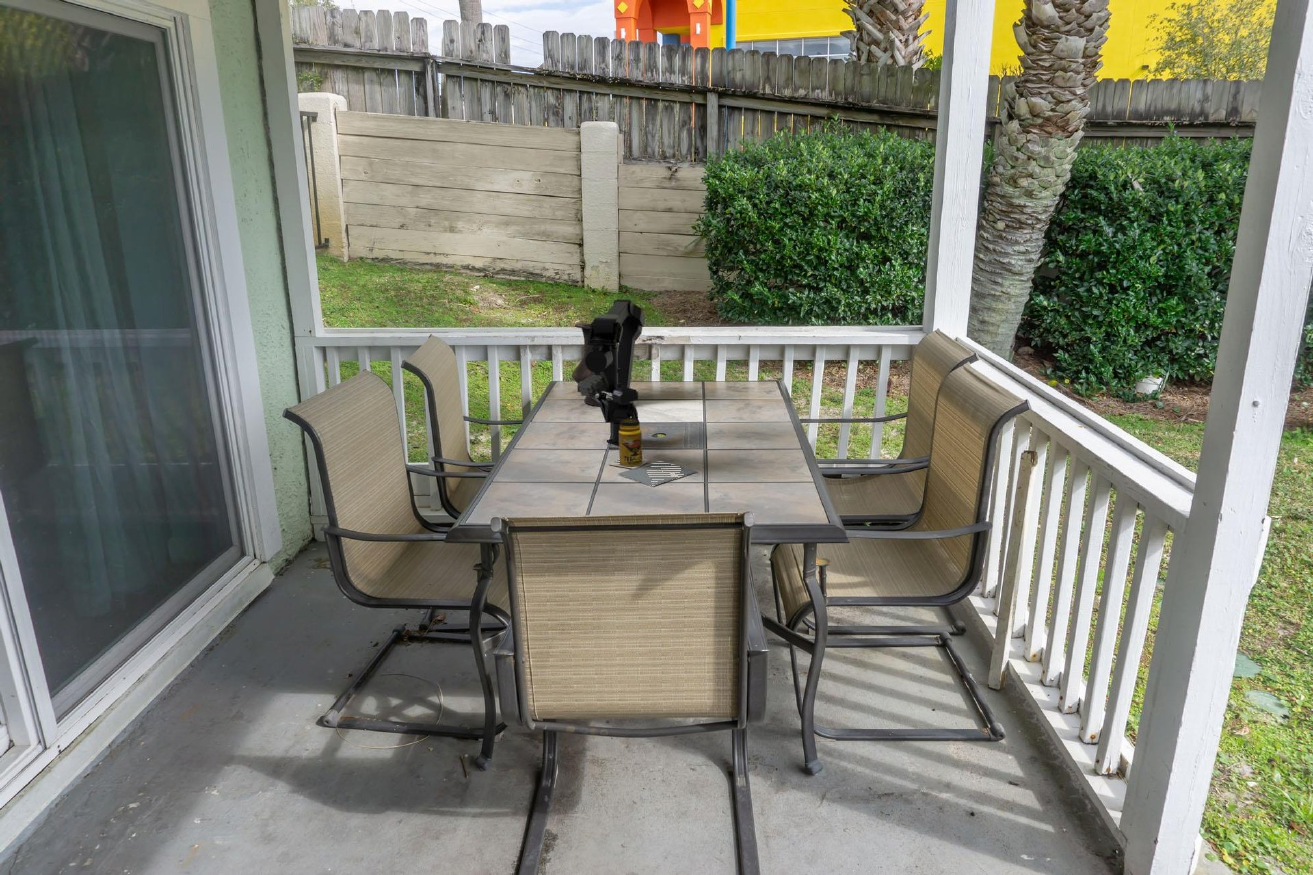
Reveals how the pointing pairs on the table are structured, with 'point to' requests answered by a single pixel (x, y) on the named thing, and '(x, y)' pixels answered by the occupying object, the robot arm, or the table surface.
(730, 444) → the table surface
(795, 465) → the table surface
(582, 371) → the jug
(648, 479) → the mat
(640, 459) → the condiment
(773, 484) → the table surface
